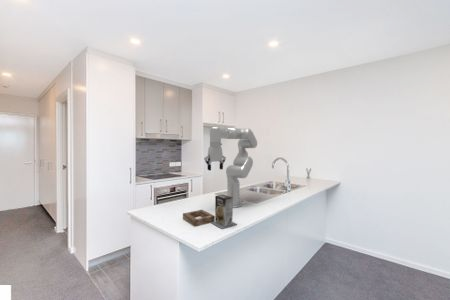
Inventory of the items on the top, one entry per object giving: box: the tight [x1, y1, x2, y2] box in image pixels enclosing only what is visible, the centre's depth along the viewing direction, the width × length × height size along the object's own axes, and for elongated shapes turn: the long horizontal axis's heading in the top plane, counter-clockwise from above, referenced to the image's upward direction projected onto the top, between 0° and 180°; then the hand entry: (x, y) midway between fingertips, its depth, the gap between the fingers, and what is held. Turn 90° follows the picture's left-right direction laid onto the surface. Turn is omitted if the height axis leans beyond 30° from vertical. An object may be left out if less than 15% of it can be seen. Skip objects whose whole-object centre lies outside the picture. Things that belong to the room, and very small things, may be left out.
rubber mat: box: [211, 221, 238, 230], centre depth 124 cm, size 11×11×1 cm
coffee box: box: [214, 194, 234, 226], centre depth 124 cm, size 9×6×16 cm
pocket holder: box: [182, 209, 215, 227], centre depth 131 cm, size 14×16×4 cm
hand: (215, 169), depth 144 cm, fingers open, 9 cm apart
